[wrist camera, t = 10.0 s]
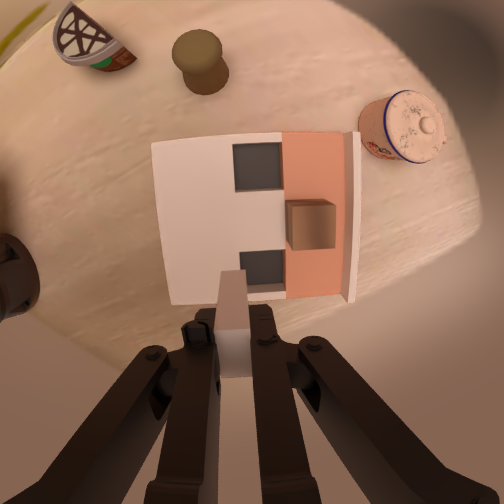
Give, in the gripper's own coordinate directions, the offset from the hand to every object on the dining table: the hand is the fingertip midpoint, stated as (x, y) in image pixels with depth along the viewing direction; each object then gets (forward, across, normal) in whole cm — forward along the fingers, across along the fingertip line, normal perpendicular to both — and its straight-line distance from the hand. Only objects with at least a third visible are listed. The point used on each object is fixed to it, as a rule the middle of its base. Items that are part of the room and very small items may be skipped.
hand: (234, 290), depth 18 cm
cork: (+22, -3, +20) cm, 30 cm away
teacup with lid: (+22, +23, +12) cm, 34 cm away
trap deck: (+22, +2, 0) cm, 22 cm away
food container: (+23, -18, +26) cm, 39 cm away
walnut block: (+19, +9, 0) cm, 21 cm away
